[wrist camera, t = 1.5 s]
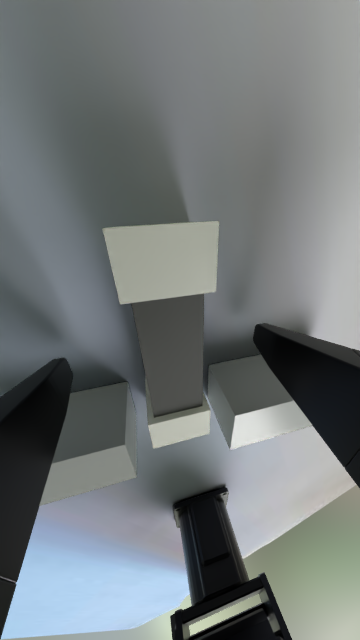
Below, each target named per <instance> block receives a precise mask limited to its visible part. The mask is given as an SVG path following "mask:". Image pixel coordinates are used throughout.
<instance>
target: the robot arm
mask: <svg viewBox="0 0 360 640" xmlns="http://www.w3.org/2000/svg"><path fill="white" fill-rule="evenodd" d="M253 341H254V344H255V345H256V347H257V349H258V350H259V352H260V353H261V355H262V357H263V358H264V360H265V362H266V363H267V365H268V367H269V368H270V369H271V371H272V372H273V374H274V375H275V376H276V378H277V379H278V380H279V381H280V383H281V384H282V385H283V387H284V388H285V389H286V391H287V392H288V393H289V395H290V396H291V397H292V399H293V400H294V401H295V403H296V404H297V405H298V407H299V408H300V409H301V411H302V412H303V413H304V415H305V416H306V417H307V419H308V420H309V421H310V423H311V424H312V425H313V427H314V428H315V429H316V431H317V432H318V433H319V435H320V436H321V437H322V439H323V440H324V441H325V443H326V444H327V445H328V447H329V448H330V449H331V451H332V452H333V453H334V455H335V456H336V457H337V459H338V460H339V461H340V463H341V464H342V465H343V467H345V470H346V471H347V472H348V474H349V475H350V476H351V477H352V479H353V480H354V481H355V483H356V484H357V485H358V487H359V488H360V351H359V350H355V349H351V348H348V347H345V346H341V345H338V344H335V343H331V342H328V341H324V340H321V339H317V338H314V337H311V336H307V335H304V334H300V333H297V332H293V331H290V330H286V329H283V328H280V327H276V326H273V325H269V324H266V323H262V324H257V325H256V326H255V330H254V336H253ZM72 380H73V372H72V370H71V368H70V365H69V363H68V361H67V359H66V358H58V359H53V360H52V361H50V362H49V363H48V364H46V365H45V366H43V367H42V368H41V369H39V370H38V371H36V372H35V373H34V374H32V375H31V376H29V377H28V378H27V379H25V380H24V381H22V382H21V383H20V384H18V385H17V386H15V387H14V388H13V389H11V390H10V391H8V392H7V393H6V394H4V395H3V396H1V397H0V639H1V635H2V632H3V629H4V625H5V622H6V618H7V615H8V612H9V608H10V605H11V601H12V598H13V595H14V591H15V588H16V584H15V583H16V582H17V580H18V577H19V573H20V570H21V567H22V563H23V560H24V556H25V553H26V550H27V546H28V543H29V539H30V536H31V533H32V529H33V526H34V522H35V519H36V516H37V512H38V509H39V505H40V502H41V499H42V495H43V492H44V488H45V485H46V482H47V478H48V475H49V471H50V468H51V465H52V461H53V458H54V454H55V451H56V448H57V444H58V441H59V437H60V434H61V431H62V427H63V424H64V420H65V417H66V413H67V409H68V404H69V398H70V392H71V386H72ZM228 494H229V492H228V489H227V488H222V489H219V490H216V491H213V492H210V493H207V494H204V495H201V496H198V497H195V498H192V499H188V500H185V501H182V502H179V503H176V504H175V505H173V509H174V515H175V521H176V526H177V528H180V531H181V537H182V544H183V551H184V557H185V564H186V570H187V577H188V584H189V590H190V597H191V604H192V606H191V607H189V608H187V609H184V610H182V609H180V610H177V611H175V614H173V615H171V617H170V618H171V628H172V639H173V640H292V638H291V636H290V633H289V631H288V629H287V626H286V624H285V621H284V619H283V616H282V614H281V612H280V609H279V607H278V604H277V602H276V599H275V597H274V595H273V592H272V590H271V587H270V585H269V582H268V580H267V578H266V575H265V573H264V572H263V573H261V574H259V575H258V577H257V578H254V579H252V580H250V581H249V578H248V575H247V571H246V568H245V565H244V562H243V559H242V556H241V553H240V550H239V547H238V544H237V541H236V537H235V534H234V531H233V528H232V525H231V522H230V519H229V516H228V513H227V510H226V505H227V500H228ZM257 594H259V595H260V598H261V602H262V603H260V604H258V605H256V606H254V607H252V608H250V609H248V610H246V611H243V612H241V613H239V614H237V615H235V616H232V617H230V618H228V619H226V620H224V621H222V622H220V623H217V624H215V625H213V626H211V627H209V628H207V629H205V630H202V631H200V632H198V633H196V634H194V635H192V636H190V631H189V625H191V624H194V623H196V622H198V621H200V620H202V619H205V618H207V617H209V616H211V615H213V614H215V613H218V612H220V611H222V610H224V609H226V608H228V607H231V606H233V605H235V604H237V603H239V602H241V601H244V600H246V599H248V598H250V597H253V596H255V595H257Z"/></svg>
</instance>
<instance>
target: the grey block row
mask: <svg viewBox="0 0 360 640" xmlns="http://www.w3.org/2000/svg"><path fill="white" fill-rule="evenodd" d="M208 399H209V402H210V404H211V406H212V409H213V411H214V413H215V416H216V418H217V420H218V423H219V425H220V428H221V430H222V432H223V435H224V437H225V439H226V442H227V444H228V446H229V449H230V450H232V449H235V448H239V447H242V446H246V445H249V444H252V443H256V442H259V441H263V440H266V439H269V438H273V437H276V436H280V435H283V434H287V433H290V432H293V431H297V430H300V429H304V428H307V427H310V426H313V425H312V424H311V423H310V421H309V420H308V419H307V417H306V416H305V415H304V413H303V412H302V411H301V409H300V408H299V407H298V405H297V404H296V403H295V401H294V400H293V399H292V397H291V396H290V395H289V393H288V392H287V391H286V389H285V388H284V387H283V385H282V384H281V383H280V381H279V380H278V379H277V378H276V376H275V375H274V374H273V372H272V371H271V369H270V368H269V367H268V365H267V363H266V362H265V360H264V358H263V357H262V355H256V356H251V357H246V358H241V359H236V360H231V361H226V362H221V363H216V364H212V365H209V366H208ZM136 477H137V432H136V411H135V407H134V403H133V399H132V396H131V392H130V388H129V385H128V382H123V383H118V384H113V385H108V386H103V387H98V388H93V389H88V390H83V391H78V392H74V393H70V398H69V404H68V409H67V413H66V417H65V420H64V424H63V427H62V431H61V434H60V437H59V441H58V444H57V448H56V451H55V454H54V458H53V461H52V465H51V468H50V471H49V475H48V478H47V482H46V485H45V488H44V492H43V495H42V499H41V502H40V505H39V506H41V505H44V504H48V503H51V502H54V501H58V500H61V499H65V498H68V497H71V496H75V495H78V494H82V493H85V492H89V491H92V490H95V489H99V488H102V487H106V486H109V485H112V484H116V483H119V482H123V481H126V480H129V479H133V478H136Z"/></svg>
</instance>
